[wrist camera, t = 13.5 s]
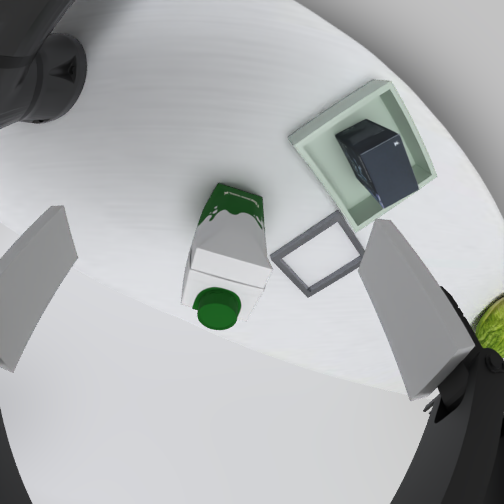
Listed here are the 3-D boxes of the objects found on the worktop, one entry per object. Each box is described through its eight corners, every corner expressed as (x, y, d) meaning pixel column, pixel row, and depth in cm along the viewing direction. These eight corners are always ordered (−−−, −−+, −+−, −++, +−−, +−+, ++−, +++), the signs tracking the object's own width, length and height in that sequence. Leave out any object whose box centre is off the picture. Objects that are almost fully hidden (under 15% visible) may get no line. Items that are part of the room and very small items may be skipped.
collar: (270, 255, 48) (270, 259, 47) (337, 209, 43) (339, 213, 42) (306, 293, 53) (307, 297, 52) (367, 255, 48) (370, 259, 47)
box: (333, 135, 36) (359, 154, 27) (365, 117, 34) (401, 132, 25) (356, 179, 39) (384, 211, 30) (386, 163, 38) (421, 190, 29)
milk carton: (198, 226, 44) (170, 320, 28) (214, 174, 40) (187, 252, 23) (250, 241, 46) (250, 340, 30) (270, 192, 41) (285, 280, 25)
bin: (287, 137, 36) (293, 146, 32) (373, 79, 31) (391, 80, 26) (344, 215, 43) (355, 233, 39) (419, 164, 38) (437, 176, 33)
